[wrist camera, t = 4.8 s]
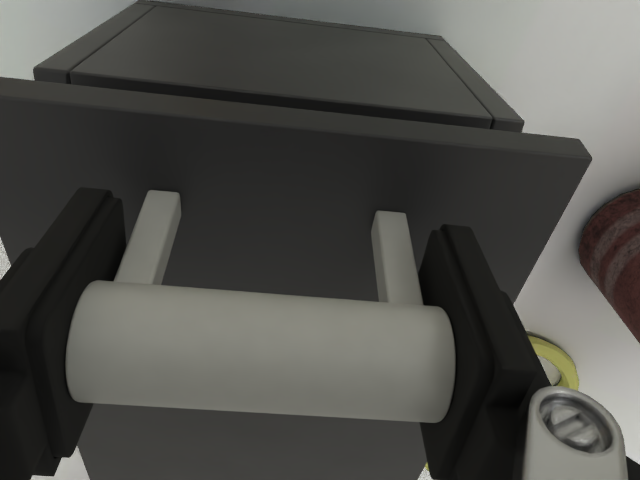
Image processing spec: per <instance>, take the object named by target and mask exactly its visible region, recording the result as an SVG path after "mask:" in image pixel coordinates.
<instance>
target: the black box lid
mask: <svg viewBox="0 0 640 480" xmlns="http://www.w3.org/2000/svg"><path fill="white" fill-rule="evenodd" d="M591 161H592V157H591V155H590V154H589V152H588V151H587V149H586V148H585V147H584V145H583V144H582V142H581V141H580V140H579V139H575V138H565V137H556V136H547V135H537V134H528V133H518V132H509V131H500V130H490V129H481V128H472V127H462V126H453V125H444V124H434V123H425V122H416V121H406V120H397V119H388V118H378V117H369V116H360V115H350V114H341V113H332V112H322V111H313V110H304V109H294V108H285V107H276V106H266V105H257V104H248V103H238V102H229V101H220V100H210V99H201V98H192V97H182V96H173V95H164V94H154V93H145V92H136V91H126V90H117V89H108V88H98V87H89V86H80V85H70V84H61V83H52V82H42V81H33V80H24V79H14V78H5V77H0V237H1V240H2V242H3V245H4V248H5V250H6V253H7V256H8V259H9V261H10V264H11V266H12V265H13V263H14V262H15V261H16V259H17V258H18V257H19V256H20V254H21V253H22V252H23V251H24V250H25V249H27V248H30V247H32V248H35V246H36V245H37V244H38V242H39V241H40V240H41V238H42V237H43V235H44V234H45V233H46V231H47V230H48V229H49V227H50V226H51V225H52V223H53V222H54V221H55V219H56V218H57V217H58V215H59V214H60V213H61V211H62V210H63V209H64V207H65V206H66V204H67V203H68V202H69V200H70V199H71V198H72V196H73V195H74V194H75V192H76V191H77V190H78V189H79V188H80V187H86V188H96V189H105V190H111V191H112V193H113V197H114V198H120V199H121V200H122V203H123V212H124V223H125V235H126V246H127V247H126V250H125V253H124V255H123V258H122V260H121V263H120V266H119V268H118V271H117V273H116V276H115V279H114V281H101V280H97V281H93V282H91V283H90V284H89V285H88V286H87V287H86V288H85V289H84V291H83V293H82V294H81V296H80V298H79V301H78V303H77V306H76V308H75V311H74V314H73V317H72V321H71V325H70V329H69V334H68V340H67V347H66V363H65V366H66V381H67V387H68V391H69V393H70V396H71V397H72V398H73V399H74V400H75V401H77V402H83V403H94V404H93V407H92V409H91V412H90V414H89V417H88V419H87V421H86V424H85V426H84V429H83V431H82V434H81V436H80V439H79V441H78V443H77V446H78V448H79V451H80V454H81V457H82V459H83V462H84V465H85V467H86V470H87V473H88V475H89V478H90V480H417V479H418V478H419V476H420V474H421V472H422V470H423V468H424V467H425V465H426V463H427V458H426V453H425V448H424V443H423V438H422V433H421V428H420V423H419V422H427V423H437V422H440V421H441V420H443V418H444V417H445V416H446V414H447V412H448V410H449V407H450V404H451V400H452V396H453V391H454V384H455V375H456V350H455V341H454V334H453V330H452V326H451V322H450V319H449V317H448V315H447V313H446V312H445V310H443V309H442V308H440V307H438V306H425V305H424V304H423V299H422V294H421V289H420V284H419V279H418V273H419V270H420V266H421V263H422V260H423V256H424V253H425V249H426V246H427V242H428V239H429V236H430V233H431V231H432V230H439V229H440V227H441V226H442V225H443V224H449V225H459V226H468V227H471V229H472V230H473V232H474V234H475V237H476V239H477V241H478V243H479V245H480V247H481V250H482V252H483V254H484V256H485V258H486V260H487V263H488V265H489V267H490V269H491V271H492V274H493V276H494V278H495V280H496V282H497V284H498V287H499V289H500V291H504V292H506V293H507V295H508V296H509V298H510V300H511V302H512V304H514V302H515V300H516V298H517V296H518V294H519V293H520V291H521V289H522V287H523V285H524V283H525V282H526V280H527V278H528V276H529V274H530V273H531V271H532V269H533V267H534V265H535V263H536V262H537V260H538V258H539V256H540V254H541V252H542V251H543V249H544V247H545V245H546V243H547V241H548V240H549V238H550V236H551V234H552V232H553V230H554V229H555V227H556V225H557V223H558V221H559V219H560V218H561V216H562V214H563V212H564V210H565V208H566V207H567V205H568V203H569V201H570V199H571V197H572V196H573V194H574V192H575V190H576V188H577V186H578V185H579V183H580V181H581V179H582V177H583V175H584V174H585V172H586V170H587V168H588V166H589V164H590V163H591Z"/></svg>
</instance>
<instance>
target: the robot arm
mask: <svg viewBox="0 0 640 480" xmlns="http://www.w3.org/2000/svg"><path fill="white" fill-rule="evenodd" d="M126 247H127V246H126V235H125V223H124V212H123V203H122V200H121V199H120V198H114V197H113V193H112V191H111V190H105V189H96V188H86V187H80V188H79V189H78V190H77V191H76V192H75V194H74V195H73V196H72V198H71V199H70V200H69V202H68V203H67V204H66V206H65V207H64V209H63V210H62V211H61V213H60V214H59V215H58V217H57V218H56V219H55V221H54V222H53V223H52V225H51V226H50V227H49V229H48V230H47V231H46V233H45V234H44V235H43V237H42V238H41V240H40V241H39V242H38V244H37V245H36V246H35V248H32V247H30V248H27V249H25V250H24V251H23V252H22V253H21V254H20V256H19V257H18V258H17V259H16V261H15V262H14V263H13V265H12V266H11V267H10V269H9V270H8V271H7V272H6V274H5V275H4V276H3V278H2V279H1V280H0V480H30V479H31V477H32V475H40V476H54V475H55V472H56V470H57V468H58V465H59V463H60V461H61V458H62V457H68V458H69V457H71V456H72V454H73V453H74V450H75V448H76V446H77V443H78V441H79V439H80V436H81V434H82V431H83V429H84V426H85V424H86V421H87V419H88V417H89V414H90V412H91V409H92V407H93V404H94V403H83V402H77V401H75V400H74V399H73V398H72V397H71V396H70V393H69V391H68V387H67V381H66V366H65V363H66V347H67V340H68V334H69V329H70V325H71V321H72V317H73V314H74V311H75V308H76V306H77V303H78V301H79V298H80V296H81V294H82V293H83V291H84V289H85V288H86V287H87V286H88V285H89V284H90V283H91V282H93V281H97V280H101V281H114V279H115V276H116V273H117V271H118V268H119V266H120V263H121V260H122V258H123V255H124V253H125V250H126ZM418 279H419V284H420V289H421V294H422V299H423V304H424V305H425V306H438V307H440V308H442V309H443V310H445V312H446V313H447V315H448V317H449V319H450V322H451V326H452V330H453V334H454V341H455V350H456V375H455V384H454V391H453V396H452V400H451V404H450V407H449V410H448V412H447V414H446V416H445V417H444V418H443V420H441V421H440V422H437V423H427V422H419V423H420V428H421V433H422V438H423V443H424V448H425V453H426V458H427V463H428V468H429V472H430V476H431V478H432V479H433V480H640V465H639V464H638V463H636V462H635V461H633V460H632V459H630V458H629V457H627V456H626V454H625V445H624V438H623V435H622V432H621V428H620V426H619V425H618V423H617V422H616V420H615V419H614V417H613V416H612V415H611V414H610V413H609V412H608V411H607V410H606V409H605V408H604V407H603V406H602V405H601V404H600V403H598V402H597V401H595V400H594V399H593V398H591V397H590V396H588V395H586V394H584V393H581V392H579V391H577V390H575V389H571V388H567V387H563V386H551V384H550V382H549V380H548V378H547V375H546V373H545V371H544V369H543V367H542V365H541V363H540V361H539V359H538V356H537V354H536V352H535V350H534V348H533V346H532V344H531V342H530V340H529V338H528V335H527V333H526V331H525V329H524V327H523V325H522V323H521V321H520V319H519V316H518V314H517V312H516V310H515V308H514V306H513V304H512V302H511V300H510V298H509V296H508V295H507V293H506V292H504V291H500V289H499V287H498V284H497V282H496V280H495V278H494V276H493V274H492V271H491V269H490V267H489V265H488V263H487V260H486V258H485V256H484V254H483V252H482V250H481V247H480V245H479V243H478V241H477V239H476V237H475V234H474V232H473V230H472V229H471V227H468V226H459V225H449V224H443V225H442V226H441V227H440V229H439V230H432V231H431V233H430V236H429V239H428V242H427V246H426V249H425V253H424V256H423V260H422V263H421V266H420V270H419V273H418Z"/></svg>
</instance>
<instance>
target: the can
mask: <svg viewBox="0 0 640 480" xmlns="http://www.w3.org/2000/svg"><path fill="white" fill-rule="evenodd" d="M579 256H580V263H581V265H582V266H583V268H584V270H585V271H586V273H587V274H588V275H589V277H590V278H591V279H592V281H593V282H594V283H595V285H596V286H597V287H598V289H599V290H600V291H601V293H602V294H603V295H604V297H605V298H606V299H607V301H608V302H609V303H610V305H611V306H612V307H613V309H614V310H615V311H616V313H617V314H618V315H619V317H620V318H621V319H622V321H623V322H624V323H625V325H626V326H627V327H628V329H629V330H630V331H631V333H632V334H633V335H634V337H635V338H636V339H637V340H638V342H639V343H640V189H637V190H634V191H630V192H627V193H624V194H621V195H619V196H617V197H616V198H614V199H612V200H611V201H609V202H607V203H605V204H604V205H603V206H602V207H601V208H600V209H599V210H598V211H597V212H596V213H595V214H594V215H593V216H592V217H591V219H590V220H589V222H588V223H587V225H586V227H585V228H584V231H583V234H582V238H581V242H580V246H579Z"/></svg>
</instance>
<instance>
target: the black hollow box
mask: <svg viewBox="0 0 640 480" xmlns="http://www.w3.org/2000/svg"><path fill="white" fill-rule="evenodd" d="M33 73H34V79H35V81H42V82H52V83H61V84H70V85H80V86H89V87H98V88H108V89H117V90H126V91H136V92H145V93H154V94H164V95H173V96H182V97H192V98H201V99H210V100H220V101H229V102H238V103H248V104H257V105H266V106H276V107H285V108H294V109H304V110H313V111H322V112H332V113H341V114H350V115H360V116H369V117H378V118H388V119H397V120H406V121H416V122H425V123H434V124H444V125H453V126H462V127H472V128H481V129H490V130H500V131H509V132H518V133H521V132H522V129H523V126H524V120H523V119H522V118H521V117H520V116H519V115H518V114H517V113H516V112H515V111H514V110H513V109H512V108H511V107H510V106H509V105H508V104H507V103H506V102H505V101H504V100H503V99H502V98H501V97H500V96H499V95H498V94H497V93H496V92H495V91H494V90H493V89H492V88H491V87H490V86H489V84H488V83H487V82H486V81H485V80H484V79H483V78H482V77H481V76H480V75H479V74H478V73H477V72H476V71H475V70H474V69H473V68H472V67H471V66H470V65H469V64H468V63H467V62H466V61H465V60H464V59H463V58H462V57H461V56H460V55H459V54H458V53H457V52H456V51H455V50H454V49H453V48H452V47H451V46H450V45H449V44H448V43H447V42H446V41H445V40H444V39H443V38H442V37H441V36H436V35H427V34H419V33H411V32H403V31H394V30H386V29H378V28H370V27H362V26H353V25H345V24H337V23H329V22H320V21H312V20H304V19H296V18H287V17H279V16H271V15H263V14H255V13H246V12H238V11H230V10H222V9H213V8H205V7H197V6H189V5H180V4H172V3H164V2H156V1H148V0H138V1H137V2H135V3H134V4H132V5H131V6H129V7H128V8H126V9H125V10H123V11H121V12H120V13H118V14H117V15H115V16H114V17H112V18H110V19H109V20H107V21H106V22H104V23H103V24H101V25H99V26H98V27H96V28H95V29H93V30H92V31H90V32H88V33H87V34H85V35H84V36H82V37H81V38H79V39H77V40H76V41H74V42H73V43H71V44H70V45H68V46H67V47H65V48H63V49H62V50H60V51H59V52H57V53H56V54H54V55H52V56H51V57H49V58H48V59H46V60H45V61H43V62H41V63H40V64H38V65H37V66H35V67H34V69H33Z"/></svg>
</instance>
